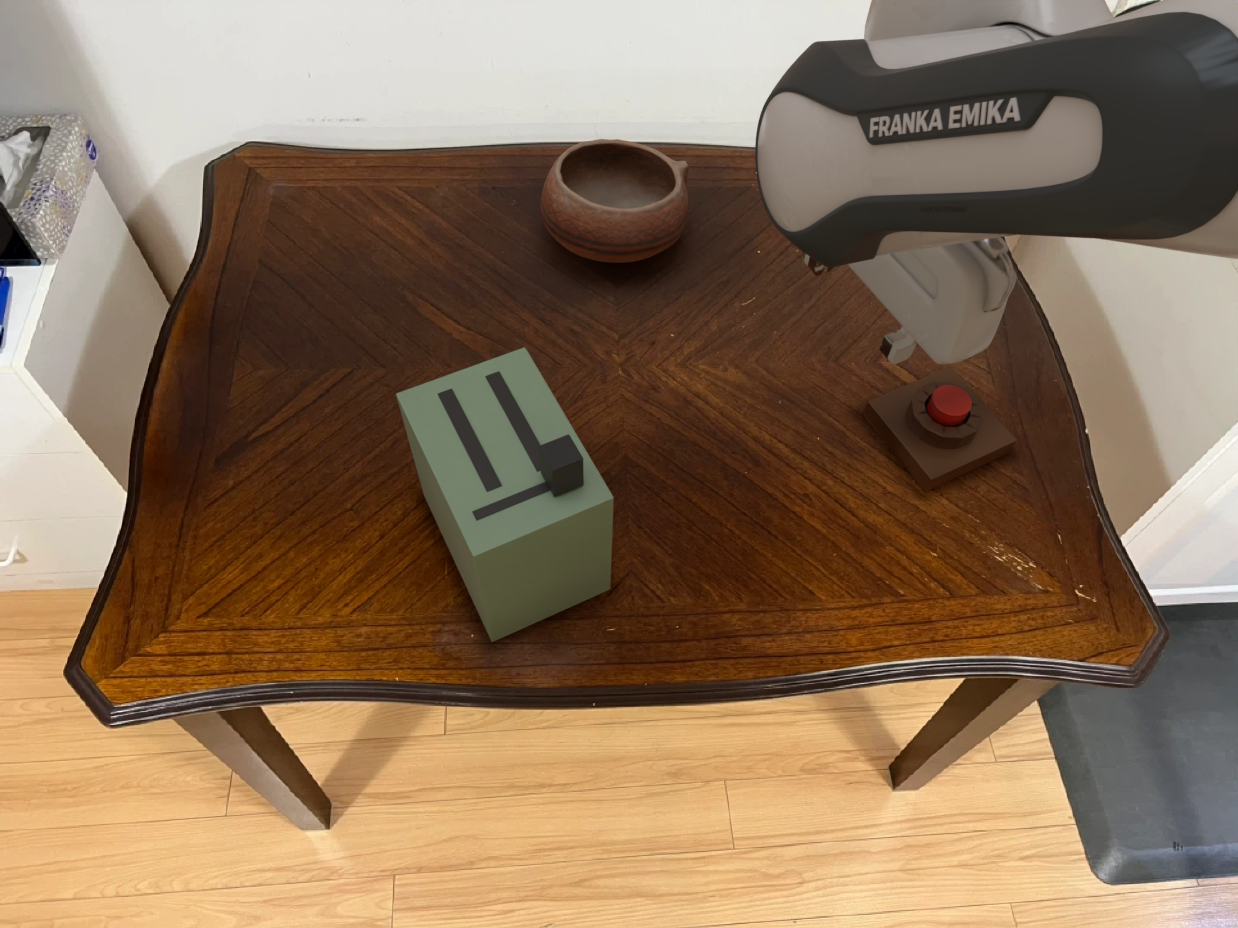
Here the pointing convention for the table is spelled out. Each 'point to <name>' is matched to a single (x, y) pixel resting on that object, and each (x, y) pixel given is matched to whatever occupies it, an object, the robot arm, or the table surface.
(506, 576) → the toaster
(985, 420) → the control block
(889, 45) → the robot arm
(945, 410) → the button
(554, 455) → the toaster slider
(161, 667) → the table surface
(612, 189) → the bowl
